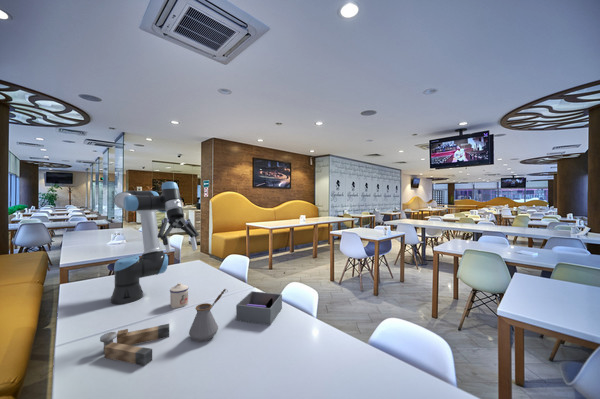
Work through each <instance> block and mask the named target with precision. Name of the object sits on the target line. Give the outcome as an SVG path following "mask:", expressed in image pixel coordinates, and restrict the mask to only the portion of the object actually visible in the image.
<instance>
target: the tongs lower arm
mask: <svg viewBox="0 0 600 399" xmlns="http://www.w3.org/2000/svg"><path fill="white" fill-rule="evenodd" d="M103 354H104V359H105V358H106V359H111V360H115V361H118V362H119V361H120V362H125V363H130V364H134V365H140V366H143V367H145V366H147V365H148V364H150V363H151V362H152V361H153V348H149V347H140V346H135V345H125V344H120V343H117V342H114V339H113V340H111V341H107V342H103Z"/></svg>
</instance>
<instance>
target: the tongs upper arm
mask: <svg viewBox="0 0 600 399" xmlns="http://www.w3.org/2000/svg"><path fill="white" fill-rule="evenodd" d="M169 337H170V323H166V324H161V325H158V326H152V327H147V328H143V329H138V330H132V331H129V329H128V328H125V329H121V330H120V329H119V330H118V331H117V332H116V331H110V332H107V333H103V334H102V335H101V336H100V337H99V342H101V343H104V342H107V341H111V340H113V341H114V340H115V339H116V343H120V344H125V345H131V346H135V345H138V344H143V343H146V342H151V341H155V340H160V339H165V338H169Z"/></svg>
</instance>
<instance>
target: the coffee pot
mask: <svg viewBox="0 0 600 399" xmlns="http://www.w3.org/2000/svg"><path fill="white" fill-rule="evenodd" d="M220 292H221V293H219V295H218V296H217V297H216V299H215V300H214V301H213V303H212V304H211V303H209V302H206V303H200V304H197V305H195V308H194V309H195V311H196V314H195V317H194V319H193V322H192V324H191V326H190V329H189V331H188V335H189V337H190V338H191V339H192V340H193V341H195V342H196V343H197V342H198V343H203V342H207V341H209V340H211V339H213V337H214V336H216V334H217V332H218V330H219V326H218V324H217V322H216V319H215V317H214V315H213V313H212V311H211V310H212V308H213V307H214V306H215V304H217V302H218V301H219V300H220V299H221V297H222V296H223V294H225V293H228V289H226V288H224V289H223V291H220Z"/></svg>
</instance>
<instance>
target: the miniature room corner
mask: <svg viewBox="0 0 600 399" xmlns="http://www.w3.org/2000/svg"><path fill="white" fill-rule="evenodd" d="M272 305H273V299H272V298H271V299H270V300H269V302H268V303H267V304H266V306H263V305H252V304H247V305H246V306H254V307H262V308H270V307H271V306H272Z"/></svg>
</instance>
